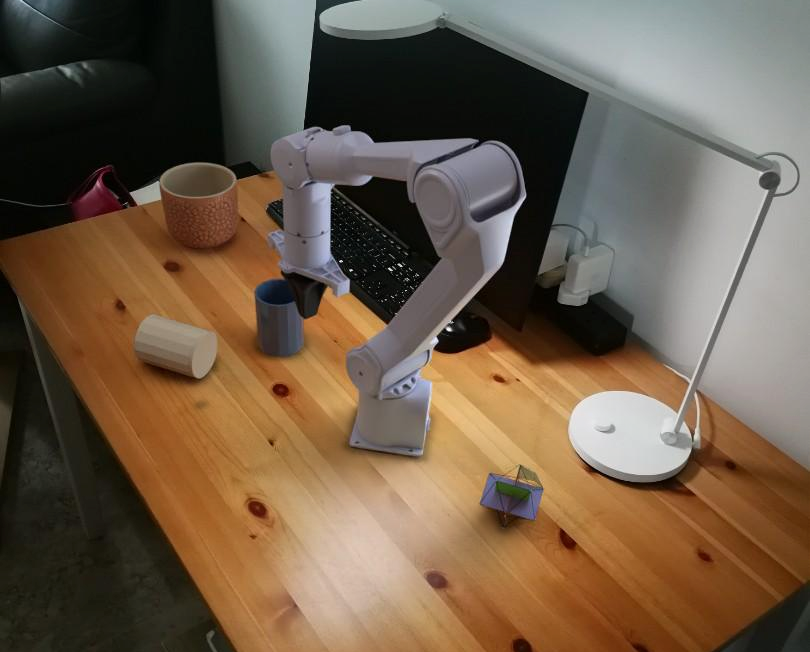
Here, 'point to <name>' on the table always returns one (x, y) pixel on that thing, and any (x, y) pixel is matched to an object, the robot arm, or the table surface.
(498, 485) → the geometric puzzle
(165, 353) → the cream cup
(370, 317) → the table surface
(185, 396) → the table surface
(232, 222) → the planter
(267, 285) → the blue cup
